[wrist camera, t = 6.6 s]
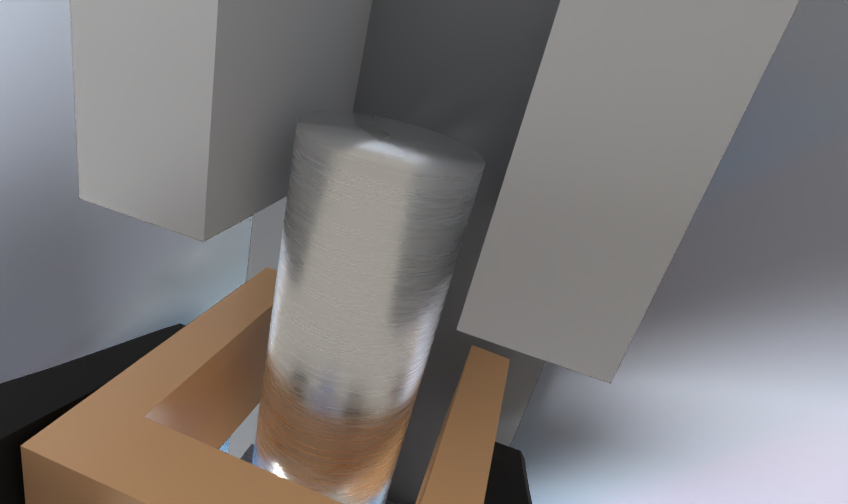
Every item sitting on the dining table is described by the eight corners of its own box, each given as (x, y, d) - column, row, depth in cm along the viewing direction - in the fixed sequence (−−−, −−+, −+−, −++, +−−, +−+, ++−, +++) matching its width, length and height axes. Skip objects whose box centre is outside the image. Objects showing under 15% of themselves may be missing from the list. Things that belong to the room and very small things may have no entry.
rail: (430, 621, 17) (373, 868, 12) (234, 537, 17) (103, 733, 12) (688, -11, 9) (848, -81, 4) (313, -102, 10) (53, -252, 5)
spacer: (267, 267, 11) (19, 445, 6) (509, 359, 10) (457, 647, 5) (252, 362, 12) (32, 582, 7) (470, 452, 11) (397, 763, 6)
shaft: (418, 593, 14) (350, 848, 10) (241, 519, 15) (102, 724, 10) (581, 159, 9) (597, 275, 4) (298, 76, 10) (69, 104, 5)
